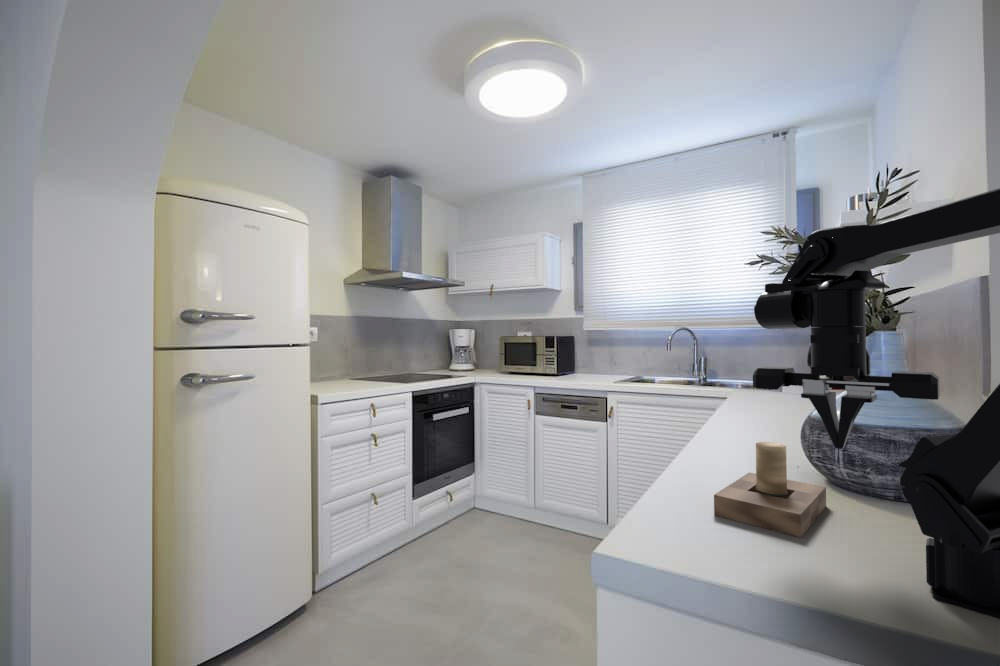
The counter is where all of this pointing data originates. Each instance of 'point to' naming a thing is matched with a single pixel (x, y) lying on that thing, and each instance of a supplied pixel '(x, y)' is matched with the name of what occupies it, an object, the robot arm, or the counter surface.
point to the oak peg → (771, 469)
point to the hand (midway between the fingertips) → (839, 448)
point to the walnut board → (771, 505)
